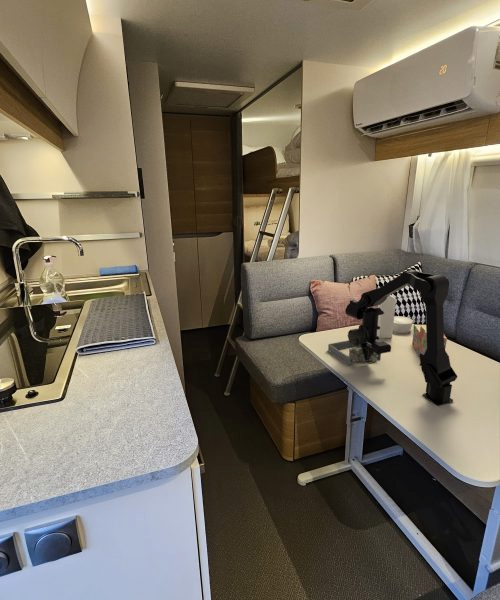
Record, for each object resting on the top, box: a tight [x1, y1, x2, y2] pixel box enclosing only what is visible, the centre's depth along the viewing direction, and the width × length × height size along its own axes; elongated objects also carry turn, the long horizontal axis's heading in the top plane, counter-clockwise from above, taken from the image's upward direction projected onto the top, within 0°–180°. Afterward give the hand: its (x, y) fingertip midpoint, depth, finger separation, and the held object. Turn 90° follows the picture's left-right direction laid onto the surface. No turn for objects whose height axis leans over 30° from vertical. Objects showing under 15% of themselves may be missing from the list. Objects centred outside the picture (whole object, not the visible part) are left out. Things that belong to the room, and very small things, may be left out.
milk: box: [376, 294, 397, 339], centre depth 159 cm, size 6×6×22 cm
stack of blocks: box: [412, 324, 448, 357], centre depth 140 cm, size 21×6×12 cm, turn 169°
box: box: [327, 339, 382, 366], centre depth 143 cm, size 15×15×3 cm
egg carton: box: [348, 346, 378, 363], centre depth 140 cm, size 11×8×4 cm
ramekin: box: [393, 315, 414, 334], centre depth 168 cm, size 11×11×5 cm
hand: (366, 360), depth 135 cm, fingers closed
